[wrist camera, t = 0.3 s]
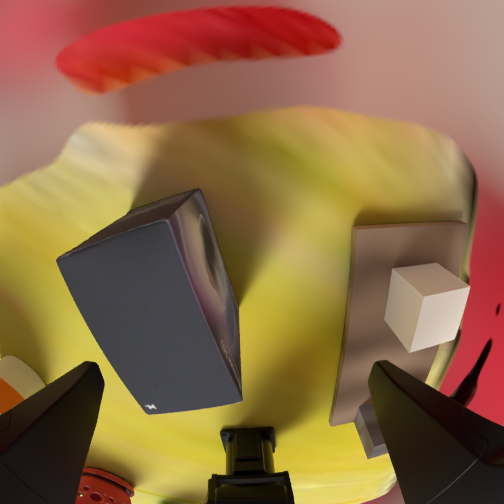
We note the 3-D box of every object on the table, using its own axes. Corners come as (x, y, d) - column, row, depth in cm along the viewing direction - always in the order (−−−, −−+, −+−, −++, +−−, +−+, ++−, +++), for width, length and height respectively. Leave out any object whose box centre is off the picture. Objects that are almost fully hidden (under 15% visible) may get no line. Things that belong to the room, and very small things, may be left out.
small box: (245, 308, 23) (249, 406, 14) (173, 325, 24) (145, 418, 14) (204, 184, 20) (171, 216, 10) (126, 211, 20) (48, 261, 10)
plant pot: (146, 484, 37) (138, 533, 25) (126, 494, 40) (118, 534, 29) (83, 455, 34) (67, 505, 22) (73, 469, 37) (60, 509, 25)
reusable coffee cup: (-16, 334, 24) (-71, 397, 10) (42, 357, 25) (-15, 445, 11) (13, 395, 28) (-23, 457, 14) (71, 419, 29) (39, 496, 15)
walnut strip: (412, 399, 29) (433, 435, 23) (328, 420, 29) (342, 465, 23) (460, 220, 21) (511, 244, 15) (352, 226, 21) (395, 258, 14)
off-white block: (426, 310, 23) (454, 339, 18) (384, 319, 23) (409, 352, 18) (436, 262, 21) (470, 286, 17) (392, 268, 21) (423, 296, 17)
